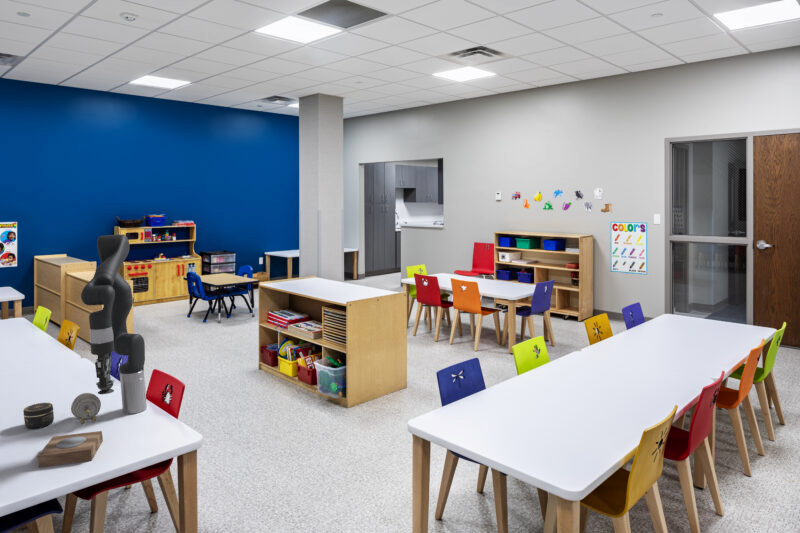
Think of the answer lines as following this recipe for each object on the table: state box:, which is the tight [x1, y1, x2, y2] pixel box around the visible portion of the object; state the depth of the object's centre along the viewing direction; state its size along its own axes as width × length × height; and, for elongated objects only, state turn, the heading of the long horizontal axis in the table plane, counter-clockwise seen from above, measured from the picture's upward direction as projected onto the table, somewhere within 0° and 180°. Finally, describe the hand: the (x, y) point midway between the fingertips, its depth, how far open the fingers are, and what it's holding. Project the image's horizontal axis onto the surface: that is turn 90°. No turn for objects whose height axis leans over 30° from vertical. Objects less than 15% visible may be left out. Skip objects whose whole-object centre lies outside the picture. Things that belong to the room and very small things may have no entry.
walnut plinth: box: [37, 430, 104, 468], centre depth 193 cm, size 16×16×4 cm
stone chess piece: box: [95, 367, 115, 395], centre depth 200 cm, size 6×6×12 cm
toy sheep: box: [70, 392, 102, 425], centre depth 222 cm, size 11×17×11 cm, turn 39°
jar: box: [22, 402, 55, 430], centre depth 218 cm, size 10×10×8 cm
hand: (105, 384), depth 200 cm, fingers closed on stone chess piece, 6 cm apart
